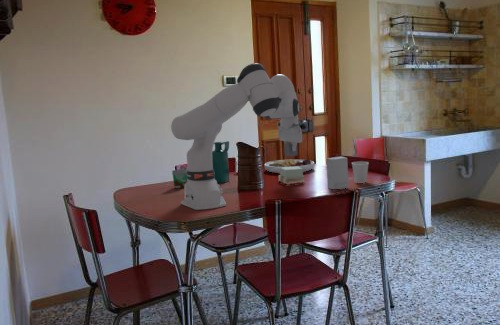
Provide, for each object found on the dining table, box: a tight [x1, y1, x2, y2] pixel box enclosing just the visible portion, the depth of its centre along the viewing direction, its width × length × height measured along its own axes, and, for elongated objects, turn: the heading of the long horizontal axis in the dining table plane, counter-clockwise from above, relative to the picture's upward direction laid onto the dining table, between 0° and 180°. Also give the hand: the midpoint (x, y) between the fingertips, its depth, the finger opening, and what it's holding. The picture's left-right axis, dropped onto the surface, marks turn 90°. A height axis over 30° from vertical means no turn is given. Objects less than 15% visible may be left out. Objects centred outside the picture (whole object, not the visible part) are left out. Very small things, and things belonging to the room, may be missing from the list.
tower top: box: [279, 166, 304, 178], centre depth 226 cm, size 9×9×4 cm
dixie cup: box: [351, 161, 370, 183], centre depth 218 cm, size 8×8×10 cm
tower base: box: [277, 174, 305, 184], centre depth 227 cm, size 10×10×4 cm
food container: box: [171, 166, 188, 190], centre depth 229 cm, size 12×6×10 cm, turn 168°
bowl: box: [264, 158, 315, 173], centre depth 265 cm, size 30×30×8 cm
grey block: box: [283, 142, 299, 157], centre depth 224 cm, size 5×5×6 cm
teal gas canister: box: [212, 140, 230, 184], centre depth 239 cm, size 10×8×22 cm
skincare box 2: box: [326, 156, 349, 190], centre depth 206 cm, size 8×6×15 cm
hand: (290, 150), depth 224 cm, fingers closed on grey block, 5 cm apart
